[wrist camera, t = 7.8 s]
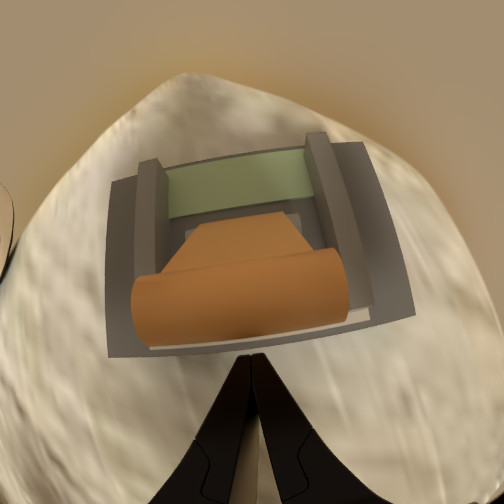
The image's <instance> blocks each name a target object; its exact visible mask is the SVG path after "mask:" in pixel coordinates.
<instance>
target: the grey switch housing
mask: <svg viewBox="0 0 504 504" xmlns="http://www.w3.org/2000/svg"><path fill="white" fill-rule="evenodd" d="M281 211H283V212H284V214H285V215H286V214H293V213H298V214H299V216H300V220H301V227H302V236H303V237H304V238H305V240H306V241H307V242H308V244H309V245H310V246H311V247H312V249H313V250H320V249H326V248H334V249H335V250H336V251H337V252H338V254H339V256H340V258H341V260H342V263H343V266H344V270H345V274H346V279H347V284H348V293H349V311H348V316H347V319H346V321H345V322H342V323H337V324H332V325H327V326H322V327H316V328H311V329H305V330H299V331H293V332H287V333H281V334H274V335H267V336H260V337H253V338H245V339H237V340H228V341H219V342H209V343H199V344H187V345H173V346H157V347H148V346H146V345H145V344H143V342H142V341H141V340H140V338H139V337H138V335H137V332H136V330H135V327H134V324H133V320H132V314H131V292H132V288H133V284H134V282H135V280H136V279H137V278H138V277H139V276H143V275H151V274H158V273H161V271H162V270H163V269H164V268H165V266H166V265H167V264H168V263H169V261H170V260H171V259H172V258H173V256H174V255H175V254H176V253H177V251H178V250H179V249H180V248H181V246H182V245H183V244H184V243H185V241H186V240H185V232H186V230H190V229H196V228H197V227H198V226H199V225H200V224H204V223H210V222H216V221H222V220H228V219H235V218H241V217H247V216H254V215H261V214H268V213H274V212H281ZM105 315H106V334H107V347H108V358H126V357H161V356H179V355H194V354H206V353H217V352H227V351H236V350H245V349H253V348H260V347H267V346H274V345H281V344H287V343H293V342H299V341H305V340H311V339H316V338H322V337H327V336H332V335H337V334H342V333H346V332H351V331H355V330H360V329H364V328H368V327H373V326H377V325H381V324H385V323H389V322H392V321H396V320H400V319H404V318H407V317H411V316H414V315H416V313H415V307H414V302H413V297H412V293H411V288H410V284H409V279H408V275H407V271H406V267H405V263H404V259H403V255H402V251H401V248H400V244H399V241H398V237H397V234H396V230H395V227H394V224H393V221H392V218H391V215H390V211H389V208H388V206H387V203H386V200H385V197H384V194H383V191H382V188H381V186H380V183H379V180H378V178H377V175H376V173H375V170H374V167H373V165H372V162H371V160H370V158H369V155H368V153H367V150H366V148H365V146H364V143H363V142H345V143H330V141H329V139H328V136H327V133H326V132H320V133H307V134H306V141H305V146H296V147H287V148H278V149H270V150H263V151H255V152H249V153H242V154H236V155H230V156H224V157H218V158H212V159H207V160H202V161H197V162H192V163H187V164H182V165H177V166H173V167H168V168H164V169H163V167H162V165H161V164H160V162H159V160H158V159H157V158H156V159H152V160H148V161H144V162H140V163H139V168H138V175H135V176H131V177H128V178H124V179H120V180H117V181H113V182H112V184H111V191H110V200H109V210H108V221H107V234H106V253H105Z"/></svg>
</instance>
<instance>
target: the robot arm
mask: <svg viewBox="0 0 504 504" xmlns="http://www.w3.org/2000/svg"><path fill="white" fill-rule="evenodd" d="M259 418H260V422H261V426H262V430H263V434H264V438H265V442H266V446H267V450H268V454H269V458H270V461H271V465H272V469H273V473H274V477H275V480H276V484H277V488H278V491H279V495H280V499H281V502H282V504H393V503H391V502H389V501H387V500H385V499H383V498H381V497H380V496H378V495H377V494H375V493H374V492H373V491H371V490H370V489H369V488H368V487H367V486H365V485H364V484H363V483H362V482H361V481H360V480H359V479H358V478H357V477H356V476H355V475H354V474H353V473H352V472H351V471H350V470H349V469H348V468H347V467H346V466H345V465H344V464H343V463H342V462H341V461H340V460H339V459H338V458H337V457H336V456H335V455H334V454H333V453H332V452H331V450H330V449H329V448H328V447H327V446H326V444H325V443H324V442H323V440H322V439H321V438H320V436H319V435H318V433H317V432H316V431H315V429H314V428H313V426H312V425H311V423H310V422H309V421H308V419H307V418H306V416H305V415H304V413H303V412H302V410H301V409H300V407H299V406H298V404H297V403H296V401H295V400H294V398H293V397H292V395H291V394H290V392H289V391H288V389H287V388H286V386H285V385H284V383H283V381H282V380H281V378H280V377H279V375H278V374H277V372H276V371H275V369H274V368H273V366H272V364H271V363H270V361H269V360H268V358H267V357H266V355H265V354H264V353H255V354H252V355H249V354H247V355H239V356H238V357H237V358H236V360H235V362H234V364H233V366H232V368H231V370H230V372H229V374H228V376H227V378H226V380H225V382H224V384H223V386H222V388H221V390H220V392H219V393H218V395H217V397H216V399H215V401H214V403H213V405H212V407H211V409H210V411H209V412H208V414H207V416H206V418H205V420H204V422H203V424H202V425H201V427H200V429H199V431H198V433H197V435H196V436H195V439H196V440H193V442H192V444H191V445H190V447H189V449H188V451H187V452H186V454H185V456H184V457H183V459H182V461H181V462H180V463H179V465H178V466H177V468H176V469H175V470H174V472H173V473H172V475H171V476H170V477H169V478H168V480H167V481H166V482H165V483H164V485H163V486H162V487H161V488H160V490H159V491H158V492H157V493H156V495H155V496H154V497H153V498H152V500H151V501H150V502H149V503H148V504H256V499H257V475H258V449H259ZM469 504H478V503H477V502H472V503H469ZM487 504H504V491H503V492H502V493H501V494H499V495H498V496H497V497H495V498H494V499H493V500H491V501H490V502H489V503H487Z"/></svg>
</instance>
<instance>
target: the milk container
mask: <svg viewBox="0 0 504 504" xmlns="http://www.w3.org/2000/svg"><path fill="white" fill-rule="evenodd" d="M13 227H14V209H13V203H12V200H11V197H10V195H9V193H8V192H7V190H6V189H5V187H4V186H3V185H2V184H1V183H0V282H1V279H2V276H3V273H4V270H5V268H6V265H7V263H8V258H9V252H10V248H11V244H12V239H13Z"/></svg>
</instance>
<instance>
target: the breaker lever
mask: <svg viewBox="0 0 504 504" xmlns="http://www.w3.org/2000/svg"><path fill="white" fill-rule="evenodd" d="M185 240H186V241H185V243H184V244H183V245H182V246H181V248H180V249H179V250H178V251H177V253H176V254H175V255H174V256H173V258H172V259H171V260H170V261H169V263H168V264H167V265H166V266H165V268H164V269H163V270H162V271H161V273H158V274H151V275H143V276H139V277H138V278H137V279H136V280H135V282H134V284H133V288H132V292H131V314H132V320H133V324H134V327H135V330H136V332H137V335H138V337H139V338H140V340H141V341H142V342H143V344H145V345H146V346H148V347H157V346H173V345H187V344H199V343H209V342H219V341H228V340H237V339H245V338H253V337H260V336H267V335H274V334H281V333H287V332H293V331H299V330H305V329H311V328H316V327H322V326H327V325H332V324H337V323H342V322H345V321H346V319H347V316H348V311H349V293H348V284H347V279H346V274H345V270H344V266H343V263H342V260H341V258H340V256H339V254H338V252H337V251H336V250H335V249H334V248H326V249H320V250H313V249H312V247H311V246H310V245H309V244H308V242H307V241H306V240H305V238H304V237H303V236H302V227H301V220H300V216H299V214H298V213H293V214H286V215H285V214H284V212H283V211H281V212H274V213H268V214H261V215H254V216H247V217H241V218H235V219H228V220H222V221H216V222H210V223H204V224H200V225H199V226H198V227H197V228H196V229H190V230H186V232H185Z"/></svg>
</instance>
